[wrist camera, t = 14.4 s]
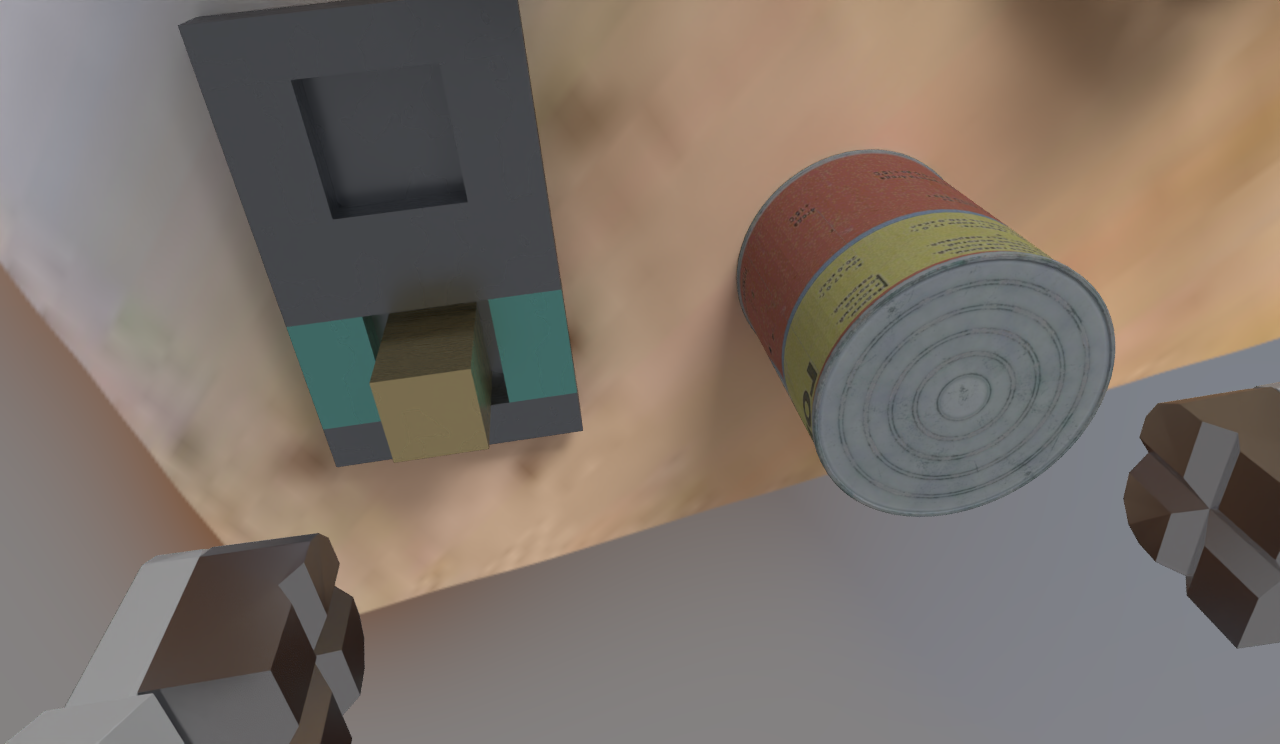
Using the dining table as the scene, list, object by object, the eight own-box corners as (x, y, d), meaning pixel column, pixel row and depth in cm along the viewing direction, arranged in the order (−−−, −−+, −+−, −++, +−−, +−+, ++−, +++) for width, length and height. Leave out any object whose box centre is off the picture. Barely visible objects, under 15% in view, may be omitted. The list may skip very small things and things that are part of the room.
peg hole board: (196, 17, 31) (177, 25, 29) (515, -19, 32) (515, -13, 30) (344, 442, 41) (336, 467, 40) (580, 408, 42) (583, 430, 40)
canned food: (690, 299, 40) (750, 446, 30) (842, 99, 36) (973, 190, 26) (855, 397, 44) (958, 554, 34) (1008, 229, 40) (1176, 350, 30)
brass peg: (388, 314, 38) (369, 383, 32) (476, 302, 38) (470, 368, 33) (409, 387, 40) (394, 462, 35) (492, 375, 40) (488, 448, 35)
